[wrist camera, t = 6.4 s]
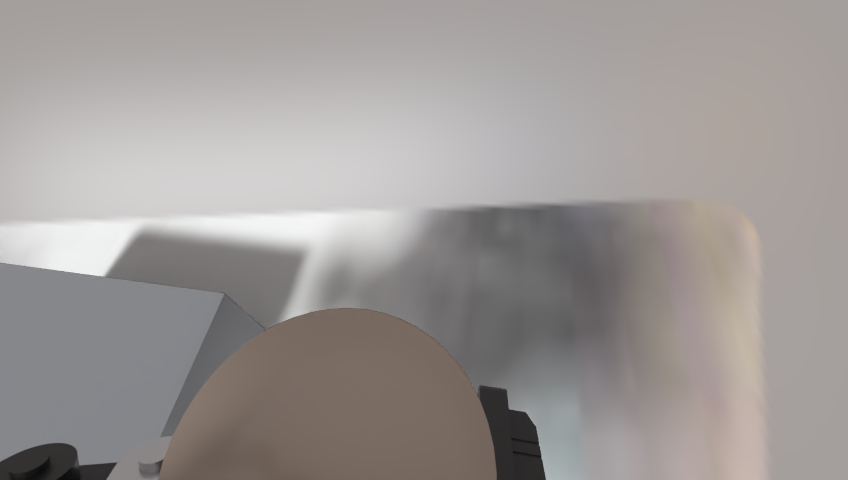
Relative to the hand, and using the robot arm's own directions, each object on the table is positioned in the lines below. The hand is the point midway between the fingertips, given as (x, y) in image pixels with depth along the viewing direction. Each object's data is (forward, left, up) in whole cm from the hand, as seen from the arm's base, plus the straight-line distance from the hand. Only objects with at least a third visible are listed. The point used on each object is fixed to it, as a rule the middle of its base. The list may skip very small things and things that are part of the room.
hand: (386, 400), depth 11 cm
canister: (0, -2, -4) cm, 5 cm away
